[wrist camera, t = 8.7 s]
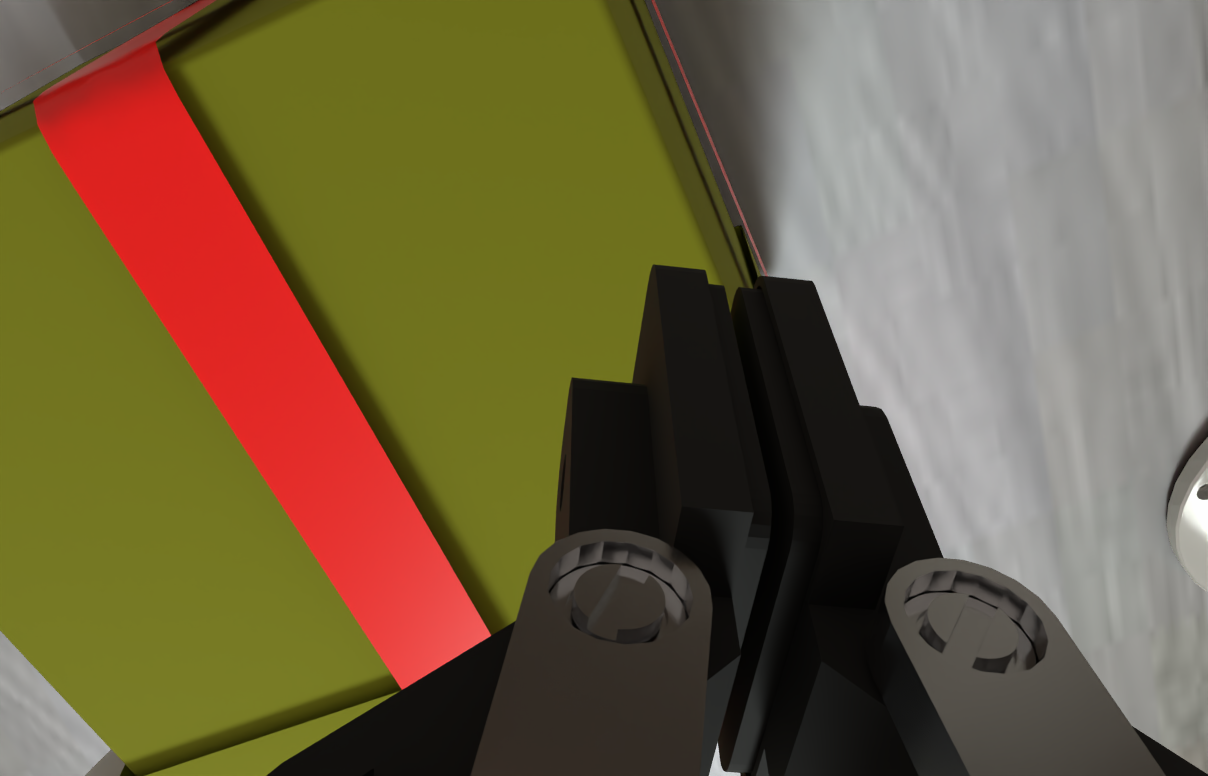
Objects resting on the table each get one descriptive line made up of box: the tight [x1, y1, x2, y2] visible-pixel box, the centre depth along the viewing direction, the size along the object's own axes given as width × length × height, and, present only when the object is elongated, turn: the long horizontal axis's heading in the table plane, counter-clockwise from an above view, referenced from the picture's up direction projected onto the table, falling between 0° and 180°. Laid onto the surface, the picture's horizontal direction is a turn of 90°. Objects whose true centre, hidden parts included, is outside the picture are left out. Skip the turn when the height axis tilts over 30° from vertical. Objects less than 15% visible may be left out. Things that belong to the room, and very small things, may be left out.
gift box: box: [0, 0, 768, 776], centre depth 31 cm, size 21×21×25 cm
